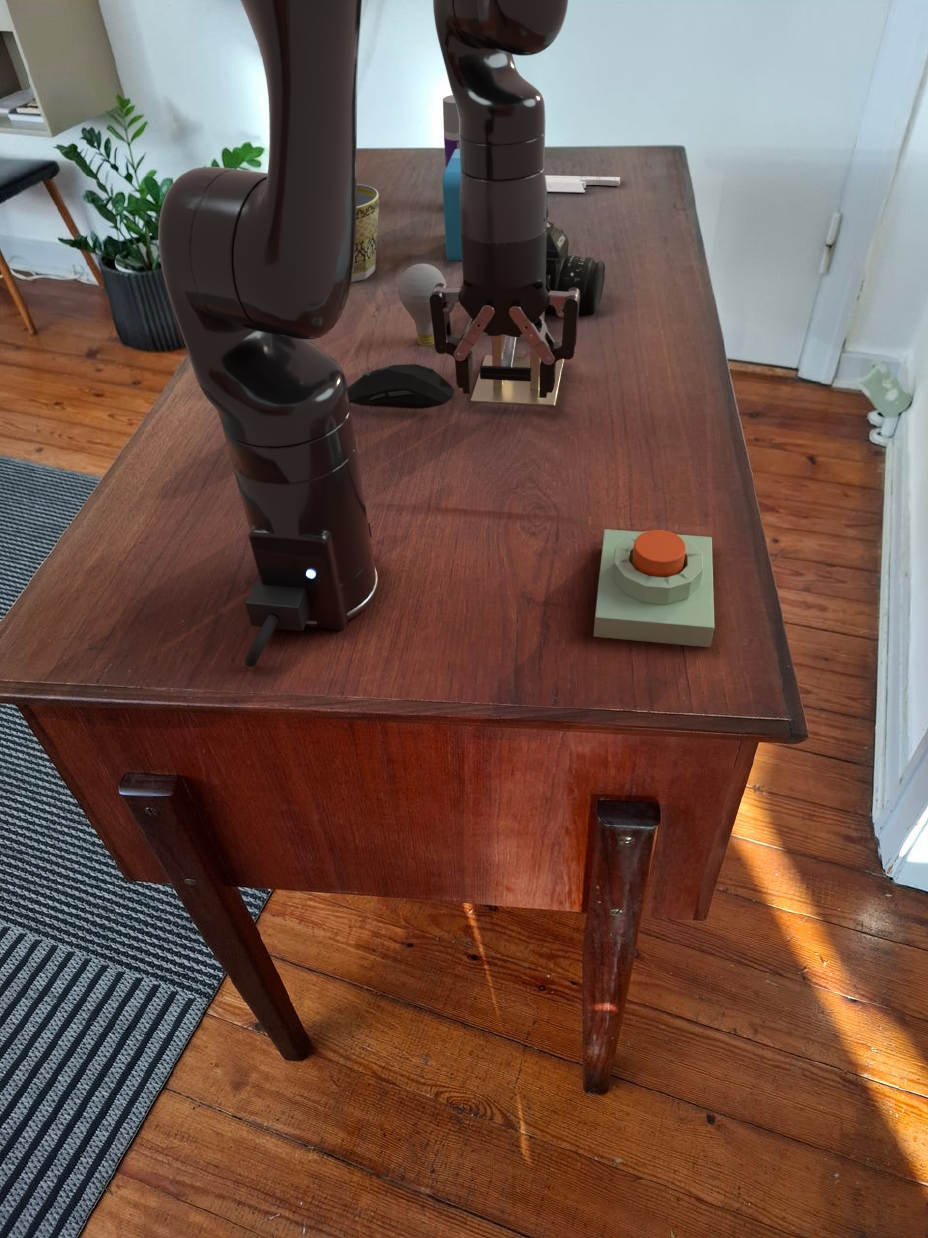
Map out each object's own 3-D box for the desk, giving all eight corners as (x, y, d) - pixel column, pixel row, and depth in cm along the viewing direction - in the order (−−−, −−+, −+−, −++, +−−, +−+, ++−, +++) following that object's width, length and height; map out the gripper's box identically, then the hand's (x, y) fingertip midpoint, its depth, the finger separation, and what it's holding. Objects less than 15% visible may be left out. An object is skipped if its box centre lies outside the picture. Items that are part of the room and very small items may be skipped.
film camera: (613, 342, 105) (619, 258, 98) (508, 347, 105) (507, 264, 98) (595, 279, 118) (600, 200, 111) (502, 283, 118) (500, 205, 111)
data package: (459, 234, 131) (455, 145, 123) (490, 234, 130) (488, 145, 122) (446, 268, 122) (441, 175, 114) (479, 268, 122) (476, 175, 113)
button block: (710, 647, 69) (718, 610, 66) (593, 636, 70) (596, 599, 68) (708, 556, 77) (715, 519, 74) (602, 548, 78) (605, 511, 75)
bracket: (554, 414, 94) (557, 297, 85) (470, 409, 96) (465, 294, 87) (563, 367, 101) (567, 254, 92) (485, 364, 103) (482, 252, 94)
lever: (531, 387, 88) (530, 372, 86) (481, 385, 89) (478, 370, 86) (544, 289, 92) (543, 272, 90) (496, 287, 93) (494, 271, 91)
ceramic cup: (396, 278, 121) (388, 201, 114) (325, 293, 118) (312, 215, 111) (367, 245, 130) (359, 171, 123) (301, 258, 127) (288, 184, 120)
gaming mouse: (327, 384, 101) (322, 351, 98) (457, 386, 99) (455, 353, 97) (314, 414, 96) (308, 380, 94) (450, 417, 95) (448, 383, 92)
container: (443, 204, 140) (436, 97, 129) (470, 198, 141) (465, 91, 131) (455, 214, 137) (450, 104, 126) (482, 208, 138) (479, 99, 127)
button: (683, 580, 69) (686, 563, 68) (631, 576, 70) (633, 559, 69) (683, 548, 72) (686, 531, 71) (633, 544, 73) (635, 527, 72)
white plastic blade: (616, 193, 139) (617, 186, 139) (522, 191, 142) (522, 184, 142) (619, 182, 143) (620, 174, 142) (527, 180, 146) (527, 173, 145)
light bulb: (444, 361, 104) (439, 276, 97) (399, 358, 105) (390, 274, 98) (454, 339, 107) (449, 256, 100) (410, 336, 108) (403, 254, 101)
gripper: (413, 237, 76) (428, 408, 87) (583, 241, 74) (575, 416, 85) (431, 204, 81) (442, 370, 93) (589, 207, 79) (581, 376, 90)
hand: (506, 391), depth 89 cm, fingers open, 7 cm apart
